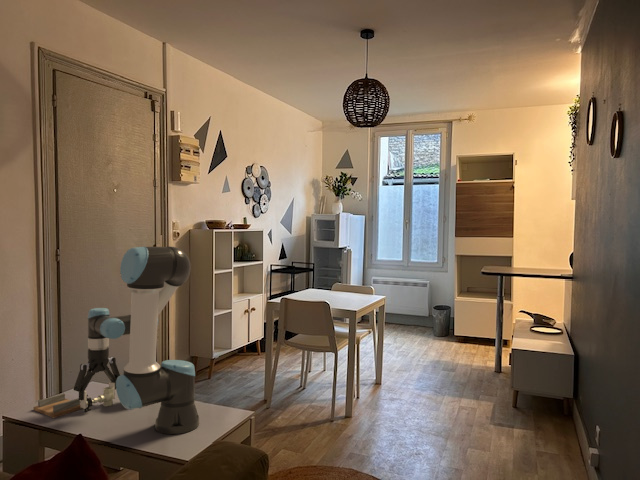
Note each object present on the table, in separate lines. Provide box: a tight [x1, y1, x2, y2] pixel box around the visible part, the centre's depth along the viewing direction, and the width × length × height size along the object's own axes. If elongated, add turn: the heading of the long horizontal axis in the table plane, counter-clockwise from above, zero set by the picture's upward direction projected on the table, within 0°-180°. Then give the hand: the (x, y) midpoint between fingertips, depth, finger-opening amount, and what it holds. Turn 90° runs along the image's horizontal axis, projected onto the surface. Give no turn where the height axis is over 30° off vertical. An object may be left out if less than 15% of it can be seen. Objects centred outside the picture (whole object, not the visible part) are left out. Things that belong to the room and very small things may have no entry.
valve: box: [80, 386, 114, 413], centre depth 191 cm, size 7×7×12 cm
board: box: [33, 392, 82, 419], centre depth 188 cm, size 14×12×4 cm
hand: (97, 403), depth 191 cm, fingers closed on valve, 11 cm apart
